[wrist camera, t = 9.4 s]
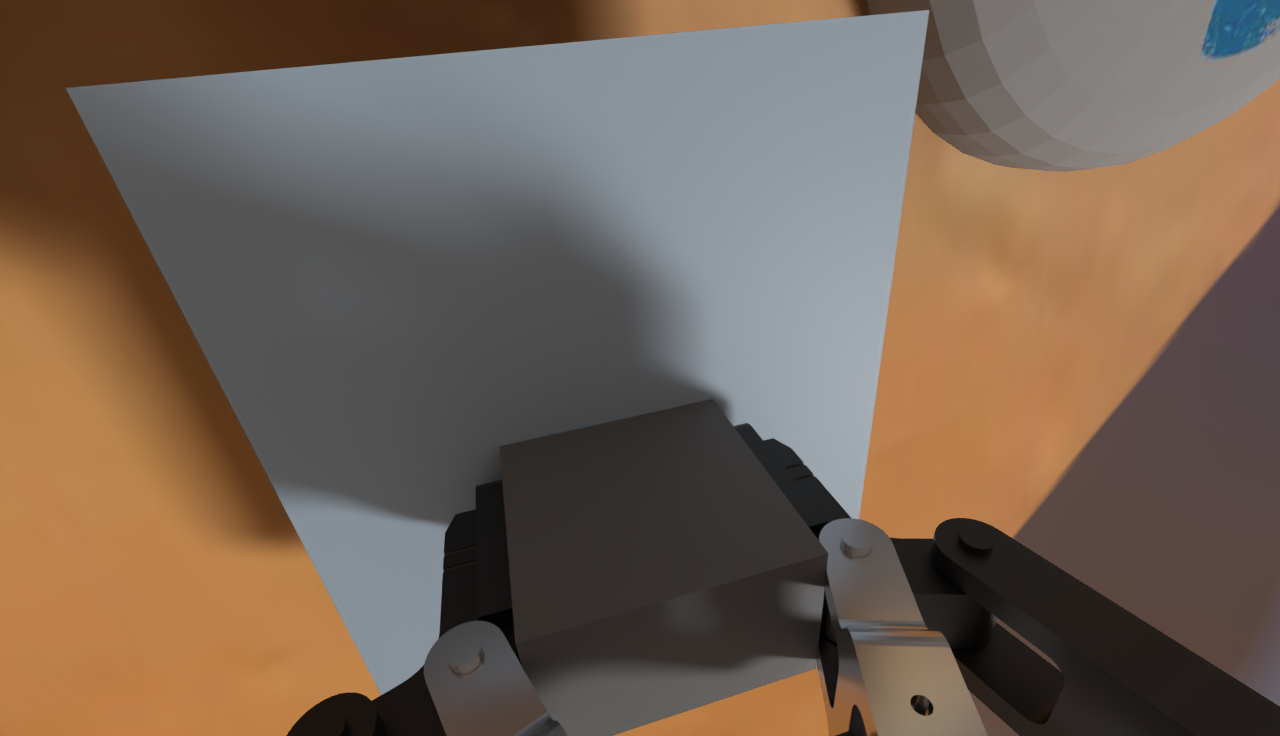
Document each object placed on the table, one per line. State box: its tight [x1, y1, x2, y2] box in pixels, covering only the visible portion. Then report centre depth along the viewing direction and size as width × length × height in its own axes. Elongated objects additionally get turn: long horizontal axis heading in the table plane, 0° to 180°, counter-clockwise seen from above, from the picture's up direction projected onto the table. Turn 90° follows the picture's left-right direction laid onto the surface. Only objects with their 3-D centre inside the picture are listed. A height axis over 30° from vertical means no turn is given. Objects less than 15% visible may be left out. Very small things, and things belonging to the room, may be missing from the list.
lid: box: [66, 10, 929, 736], centre depth 12 cm, size 18×14×6 cm
